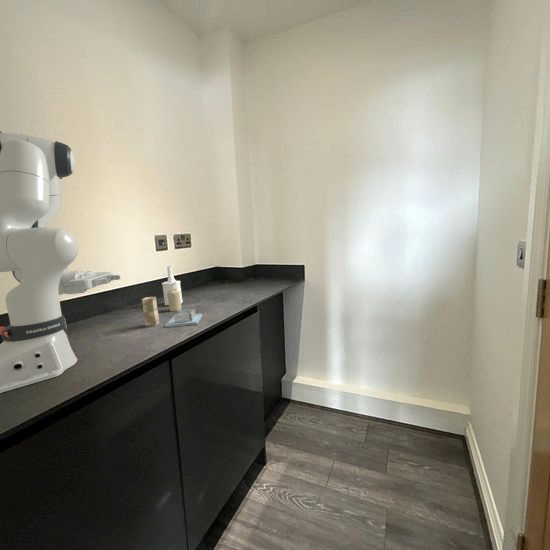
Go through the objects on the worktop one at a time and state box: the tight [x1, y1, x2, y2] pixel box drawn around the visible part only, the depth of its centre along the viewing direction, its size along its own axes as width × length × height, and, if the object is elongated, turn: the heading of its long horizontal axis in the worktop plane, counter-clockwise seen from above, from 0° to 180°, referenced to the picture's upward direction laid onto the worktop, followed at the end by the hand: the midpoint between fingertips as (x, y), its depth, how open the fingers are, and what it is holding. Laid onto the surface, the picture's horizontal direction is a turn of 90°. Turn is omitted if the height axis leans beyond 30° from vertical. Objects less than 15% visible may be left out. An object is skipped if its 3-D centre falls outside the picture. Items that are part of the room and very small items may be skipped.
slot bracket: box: [173, 308, 197, 323], centre depth 118 cm, size 8×7×3 cm
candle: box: [167, 289, 183, 312], centre depth 139 cm, size 6×6×10 cm
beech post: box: [141, 296, 160, 327], centre depth 117 cm, size 4×4×11 cm
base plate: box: [164, 313, 203, 328], centre depth 118 cm, size 12×12×1 cm
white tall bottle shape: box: [161, 265, 184, 306], centre depth 151 cm, size 10×9×20 cm
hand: (114, 279), depth 114 cm, fingers open, 8 cm apart
